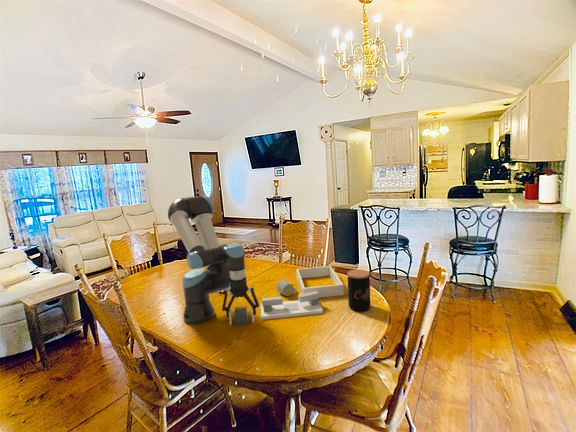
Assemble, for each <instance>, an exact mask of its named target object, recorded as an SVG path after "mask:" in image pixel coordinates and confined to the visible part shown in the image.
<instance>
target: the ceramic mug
mask: <svg viewBox="0 0 576 432" xmlns="http://www.w3.org/2000/svg"><path fill="white" fill-rule="evenodd" d="M276 290H277V291H278V292H279V293H280V294H282V295H283V296H285V297H290V296H292V295H293V293H296V294H297V291H298V289H297V288H295V286H294V285H293V284H292V283H290V282H289V281H288V280H287V279H281V280H279V281H278V282H277V284H276Z"/></svg>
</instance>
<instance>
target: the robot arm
mask: <svg viewBox="0 0 576 432" xmlns="http://www.w3.org/2000/svg"><path fill="white" fill-rule="evenodd" d="M214 213H215V206H214V203H213V201H212V199H211V198H210V196H207V195H197V196H190V197H181V198H180V197H179V198H177V199H176V200H174V201H173V202H171V204H170V206H169V208H168V210H167V218H168V220H169V222H170V225H172V226H174V228H175V230H176V232H177V233H178V235H179V238H180V239H181V241H182V243H183V245H184V247H185V249H186V251H187V255H186V262H187V265H188V268H189V269H191V270H190V271H188V272H186V273H185V274H184V275H183V277H182V289H183V295H184V303H185V305H184V310H183V316H182V317H183V321H184V322H185V323H186V324H191V325H196V324H201V323H204V322H205V323H206V322H207V321H210V320H211V319H212V318H214V316H215V313H216V312H215V308H214V305H213V304H212V302H211V300H210V294H213V293H216V292H217V293H218V292H220V291H223V294H224V298H223V304H222V307H221V308H222V309H221V310H222V312H224V311H225V312H226V317H227V319H228V320H229V325H230V326H232V324H233V315H232V309H231V307H232V305H233V302H234V301H235V299H236V298H244V300H246V301H247V303H248V304H249V305H250V307H251V311H250V312H251V319H252V320H251V321H252V323H255V315H257V311H256V309H257V308H259V307H260V303H259V300H258V297H257V295H256V293H255V287H254V286H249V287H248V283H247V277H246V276H247V271H246V263H245V262H246V261H245V251H244V247H243V244H241V243H231V244H225V243H220V242H219V239H218V237H217V233H216V231H215V228H214V225H213V221H212V218H213V215H214ZM189 219H190V220H191V221H190V220H189ZM192 224H194V225H195V226H196V227H195V228H196V230H195V229H194V227H193V225H192ZM196 231H197V232H196ZM197 233H198V234H197ZM205 268H206V269H205ZM248 291H249V293H251V296H252V298H251V296H249V294H248ZM230 293H231V294H232V296H231V297H230V300H229V302H228V304H227V299H228V295H229V294H230ZM252 299H253V300H252ZM226 305H227V306H226Z"/></svg>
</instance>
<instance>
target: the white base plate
mask: <svg viewBox="0 0 576 432" xmlns="http://www.w3.org/2000/svg"><path fill="white" fill-rule="evenodd" d="M297 296H298V297H297V298H298V300H289V301H286V300H285V301H283V297H282V296H273V297H262V299H261V304H260V320H263V321H264V320H272V319H282V318H289V317H300V316H310V315H311V316H312V315H319V314H321V315H322V314H323V313H324V310H323V307H322V306H321V303H320V298H319V293H318V292H317V291H314V292H309V293H305V294H302V293H300V294H298V295H297Z"/></svg>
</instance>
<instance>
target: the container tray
mask: <svg viewBox="0 0 576 432" xmlns="http://www.w3.org/2000/svg"><path fill="white" fill-rule="evenodd" d="M329 276H330V278H331V280H332V281H333V283H334V284H330V285H322V286H321V285H320V286H319V285H318V286H309V287H305V283H304V282H303V279H307V278H309V279H310V278H317V277H329ZM296 279H297V283H298V285H299V289H300V291H301V294H305V293H309V292H314V291H317V292H318V293H319V299H320V298H329V297H330V298H331V297H339V296H344V294H345V293H344V284H343V282H342V281H341V279H340V278H339V276H338V275H337V273H336V272H335V270H334V269H333V268H332V266H331V265H326V266H317V267H316V266H313V267H305V268H296Z"/></svg>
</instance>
